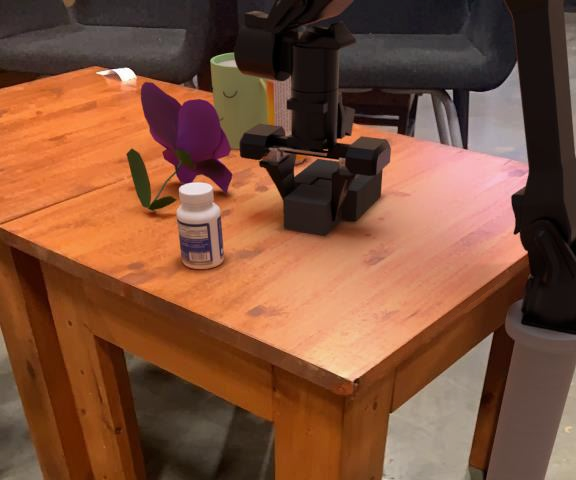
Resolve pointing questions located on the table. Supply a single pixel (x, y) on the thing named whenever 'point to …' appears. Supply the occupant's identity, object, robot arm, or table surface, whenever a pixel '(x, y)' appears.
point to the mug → (237, 98)
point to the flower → (181, 143)
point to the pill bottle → (199, 227)
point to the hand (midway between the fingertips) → (313, 216)
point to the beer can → (280, 107)
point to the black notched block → (359, 192)
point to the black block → (310, 208)
